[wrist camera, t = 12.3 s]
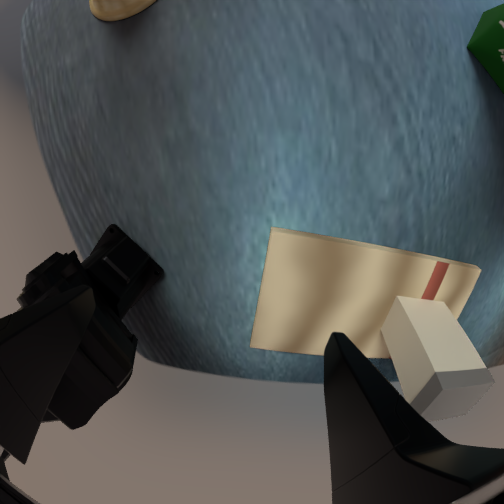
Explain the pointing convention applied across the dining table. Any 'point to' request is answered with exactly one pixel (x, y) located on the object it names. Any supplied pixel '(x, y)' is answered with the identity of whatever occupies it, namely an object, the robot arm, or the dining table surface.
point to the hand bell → (117, 8)
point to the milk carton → (490, 43)
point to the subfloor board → (345, 290)
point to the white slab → (434, 359)
